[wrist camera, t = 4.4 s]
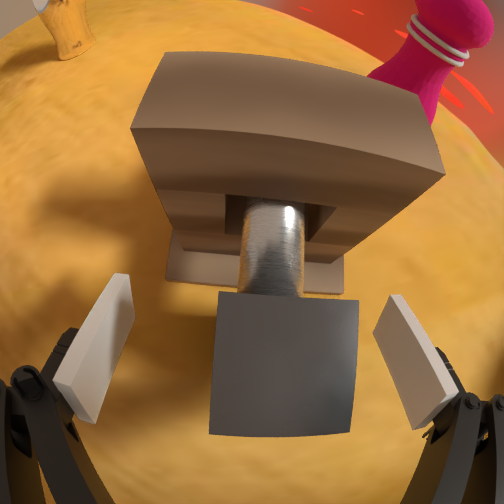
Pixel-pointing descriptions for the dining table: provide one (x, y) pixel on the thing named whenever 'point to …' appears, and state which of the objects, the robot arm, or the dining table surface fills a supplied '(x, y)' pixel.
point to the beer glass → (66, 25)
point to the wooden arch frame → (278, 157)
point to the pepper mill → (436, 47)
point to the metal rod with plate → (280, 338)
